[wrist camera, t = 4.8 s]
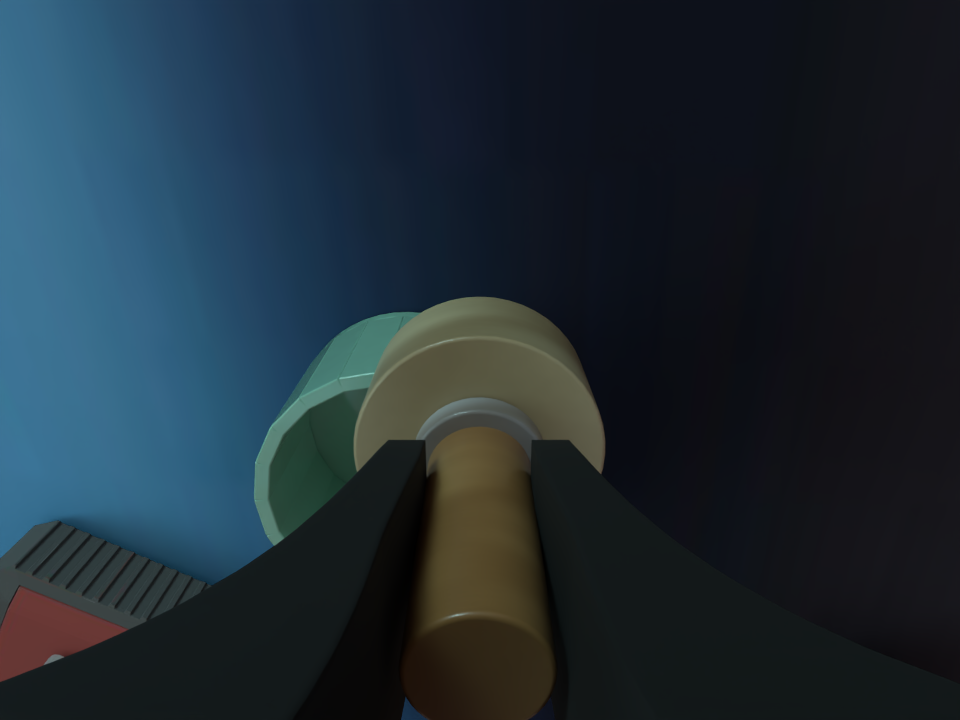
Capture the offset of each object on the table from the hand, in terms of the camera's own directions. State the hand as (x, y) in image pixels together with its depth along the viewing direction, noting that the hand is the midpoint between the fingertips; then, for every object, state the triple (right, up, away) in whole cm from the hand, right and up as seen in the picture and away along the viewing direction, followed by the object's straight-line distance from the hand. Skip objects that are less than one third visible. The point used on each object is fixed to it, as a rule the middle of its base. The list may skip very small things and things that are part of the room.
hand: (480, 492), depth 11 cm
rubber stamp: (0, +1, +3) cm, 4 cm away
